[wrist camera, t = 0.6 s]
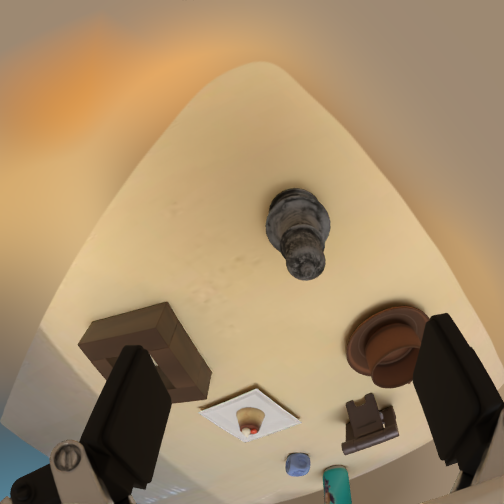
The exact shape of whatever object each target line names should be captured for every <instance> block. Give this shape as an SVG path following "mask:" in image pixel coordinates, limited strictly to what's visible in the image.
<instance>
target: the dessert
mask: <svg viewBox="0 0 504 504" xmlns="http://www.w3.org/2000/svg"><path fill="white" fill-rule="evenodd" d="M198 413H199V414H200V415H202V416H203V417H205V418H206V419H208V420H209V421H211V422H213V423H214V424H216V425H217V426H219V427H220V428H222V429H224V430H225V431H227V432H228V433H230V434H232V435H233V436H235V437H237V438H238V439H240V440H242V441H243V442H249V441H252V440H255V439H258V438H261V437H264V436H267V435H270V434H273V433H276V432H279V431H281V430H284V429H287V428H289V427H292V426H295V425H297V424H300V423H302V422H301V421H299V420H298V419H296V418H295V417H294V416H292V415H291V414H290V413H288V412H287V411H286V410H284V409H283V408H282V407H280V406H279V405H278V404H276V403H275V402H274V401H272V400H271V399H270V398H268V397H267V396H266V395H265V394H263V393H262V392H261V391H260V390H258V389H254V390H252V391H249V392H247V393H245V394H242V395H240V396H238V397H235V398H233V399H230V400H228V401H226V402H223V403H221V404H218V405H216V406H213V407H211V408H208V409H205V410H203V411H200V412H198Z"/></svg>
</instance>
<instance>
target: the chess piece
mask: <svg viewBox="0 0 504 504" xmlns="http://www.w3.org/2000/svg"><path fill="white" fill-rule="evenodd" d="M265 226H266V234H267V237H268V239H269V241H270V243H271V244H272V245H273V246H274V248H276V249H277V250H278V251H280V252H281V254H282V256H283V257H284V258H285V259H286V266H287V269H288V271H289V272H290V274H291V275H292V276H294V277H295V278H297V279H299V280H312V279H315V278H316V277H318V276H319V275H320V274H321V273H322V272H323V270H324V267H325V256H324V253H323V252H324V248H325V241H326V239H327V238H328V236H329V232H330V218H329V215H328V213H327V211H326V209H325V208H324V206H323V205H322V204H320V203H319V201H318V200H317V198H316V197H315V196H314V195H313V194H312V193H310V192H308V191H306V190H304V189H299V188H293V189H288V190H285V191H283V192H281V193H280V194H278V195H277V196H276V197H275V198H274V199H273V201H272V203H271V205H270V209H269V214H268V216H267V220H266V225H265Z"/></svg>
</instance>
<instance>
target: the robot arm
mask: <svg viewBox="0 0 504 504" xmlns="http://www.w3.org/2000/svg"><path fill="white" fill-rule="evenodd" d="M413 384H414V387H415V389H416V392H417V395H418V397H419V400H420V403H421V405H422V408H423V411H424V414H425V416H426V419H427V422H428V425H429V428H430V431H431V434H432V437H433V440H434V443H435V446H436V449H437V452H438V455H439V457H440V459H441V460H445V463H446V466H449V465H452V464H455V463H458V466H459V469H460V472H459V474H458V477H457V479H456V481H455V483H454V485H453V487H452V489H451V491H450V493H449V494H447V495H445V496H442V497H439V498H436V499H432V500H429V501H426V502H422V503H419V504H504V402H503V400H502V399H501V397H500V395H499V393H498V391H497V389H496V387H495V385H494V383H493V382H492V380H491V378H490V376H489V375H488V373H487V371H486V369H485V368H484V366H483V364H482V363H481V361H480V359H479V358H478V356H477V354H476V353H475V351H474V350H473V348H472V347H470V346H469V345H468V343H467V341H466V340H465V338H464V337H463V335H462V333H461V332H460V330H459V329H458V327H457V326H456V324H455V323H454V321H453V320H452V318H451V317H450V315H449V314H448V313H444V314H439V315H434V316H431V318H430V320H429V321H427V322H426V324H425V329H424V333H423V337H422V341H421V346H420V350H419V353H418V357H417V361H416V365H415V368H414V372H413ZM171 405H172V401H171V397H170V395H169V393H168V391H167V389H166V387H165V385H164V383H163V381H162V379H161V377H160V375H159V373H158V371H157V369H156V367H155V365H154V363H153V361H152V359H151V357H150V354H149V352H148V351H147V350H146V349H144V348H143V347H142V346H141V345H125V346H124V347H123V349H122V351H121V353H120V355H119V357H118V359H117V361H116V363H115V365H114V367H113V369H112V371H111V373H110V375H109V377H108V379H107V381H106V383H105V385H104V387H103V390H102V392H101V394H100V396H99V398H98V400H97V402H96V405H95V407H94V409H93V411H92V413H91V416H90V418H89V420H88V422H87V425H86V427H85V429H84V432H83V434H82V436H81V439H80V441H79V442H77V441H75V440H66V441H62V442H61V443H59V444H57V445H56V446H55V447H54V448H53V450H52V452H51V455H50V464H48V465H46V466H44V467H42V468H40V469H38V470H35V471H34V472H31V473H29V474H27V475H25V476H23V477H21V478H19V479H17V480H16V481H15V482H14V484H13V485H12V488H11V493H10V495H11V498H9V497H8V496H7V497H5V498H4V499H3V500H2V501H1V502H0V504H136V502H135V500H134V499H133V497H132V495H131V493H132V489H133V487H134V488H140V489H145V490H146V486H147V483H150V482H151V481H152V477H153V473H154V469H155V466H156V462H157V458H158V454H159V450H160V446H161V443H162V439H163V435H164V431H165V428H166V424H167V420H168V416H169V413H170V409H171Z"/></svg>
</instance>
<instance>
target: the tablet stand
mask: <svg viewBox="0 0 504 504" xmlns="http://www.w3.org/2000/svg"><path fill="white" fill-rule="evenodd" d="M365 401H366V403H365V404H363V405H361V406H358V407H356V405H355V403H354V401H350V402H347V403H346V408H347V412H348V415H349V419H350V423H348V424H346V442H344V443H342V451H343V453H344V455H348V454H351V453H354V452H357V451H360V450H363V449H366V448H369V447H371V446H374V445H377V444H380V443H382V442H385V441H388V440H390V439H393V438H395V437H398V436H399V432H398V428H397V423H396V415H395V412H394V409H393V407H390V408H386V409H384V410H383V411H380V412H379V411H378V407H377V404H376V401H375V398H374V395H373V394H372V393H371V394H368V395H365ZM383 424H384V425H385V428H384V427H383Z"/></svg>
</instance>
